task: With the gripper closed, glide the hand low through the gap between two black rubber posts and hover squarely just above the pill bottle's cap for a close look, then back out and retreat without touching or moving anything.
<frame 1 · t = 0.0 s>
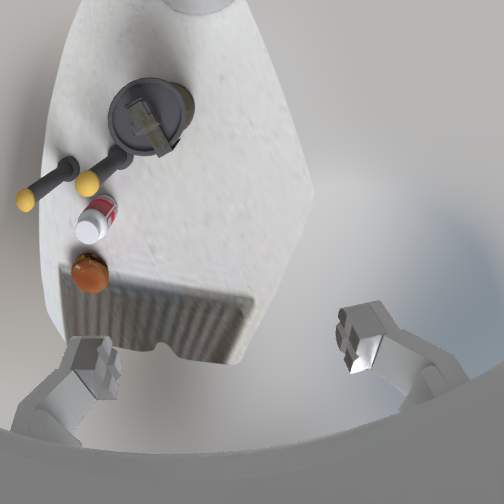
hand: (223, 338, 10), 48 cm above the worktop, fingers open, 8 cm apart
burger: (92, 268, 62), on the worktop
canister: (166, 110, 47), on the worktop
pill bottle: (105, 207, 55), on the worktop
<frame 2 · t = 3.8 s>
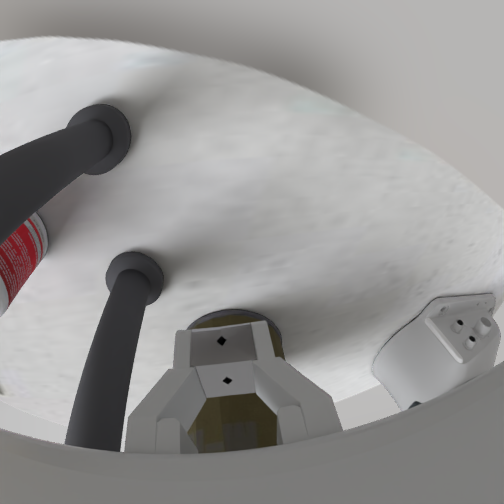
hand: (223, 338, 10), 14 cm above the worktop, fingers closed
canister: (229, 345, 30), on the worktop
pill bottle: (24, 231, 20), on the worktop
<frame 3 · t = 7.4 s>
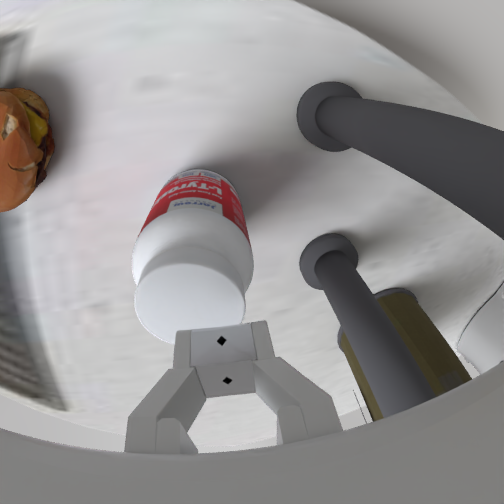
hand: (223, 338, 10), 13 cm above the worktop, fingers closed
burger: (14, 142, 16), on the worktop
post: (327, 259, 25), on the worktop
canister: (376, 324, 31), on the worktop
pill bottle: (198, 207, 21), on the worktop
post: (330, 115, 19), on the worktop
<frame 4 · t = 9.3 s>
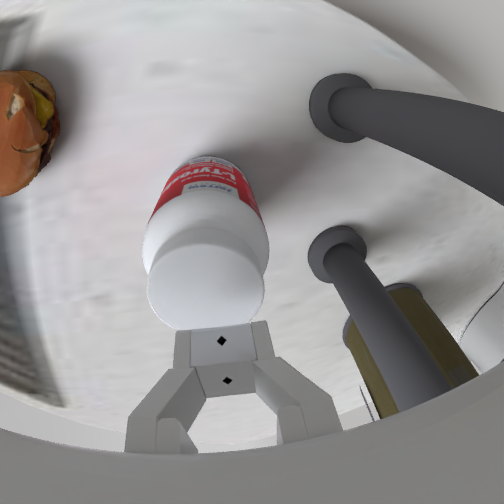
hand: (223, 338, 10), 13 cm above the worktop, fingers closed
burger: (17, 125, 15), on the worktop
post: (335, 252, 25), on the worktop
canister: (381, 319, 30), on the worktop
pill bottle: (207, 195, 21), on the worktop
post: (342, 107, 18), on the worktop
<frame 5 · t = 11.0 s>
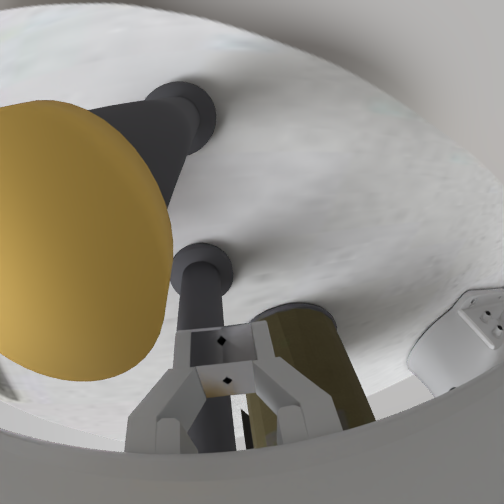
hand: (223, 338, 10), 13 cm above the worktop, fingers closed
canister: (285, 339, 30), on the worktop
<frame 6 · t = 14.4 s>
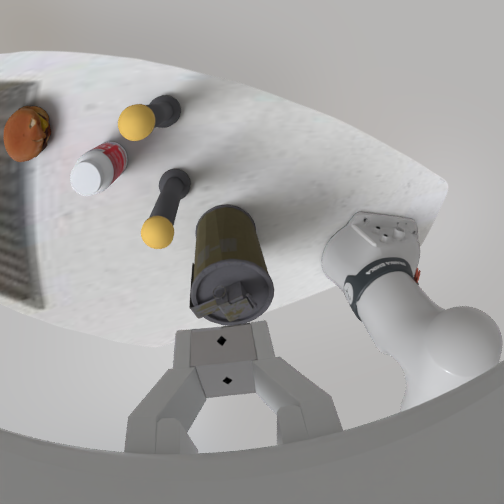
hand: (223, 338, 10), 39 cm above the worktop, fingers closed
burger: (32, 130, 37), on the worktop
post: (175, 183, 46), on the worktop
canister: (224, 232, 52), on the worktop
pill bottle: (111, 159, 42), on the worktop
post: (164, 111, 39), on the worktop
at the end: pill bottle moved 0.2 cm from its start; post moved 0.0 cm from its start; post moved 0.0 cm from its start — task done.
